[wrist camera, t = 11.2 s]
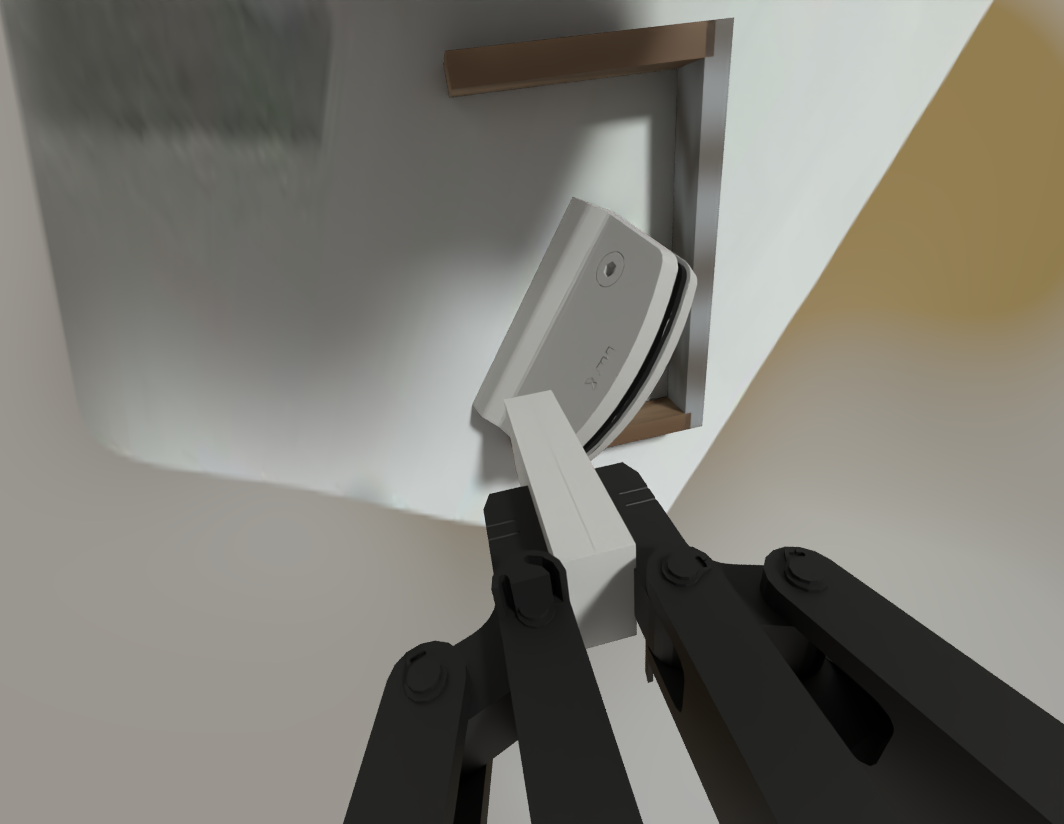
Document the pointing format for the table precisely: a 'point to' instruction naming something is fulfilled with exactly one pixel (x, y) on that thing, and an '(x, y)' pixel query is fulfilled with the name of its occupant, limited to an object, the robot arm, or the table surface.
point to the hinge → (593, 326)
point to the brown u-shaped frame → (697, 160)
